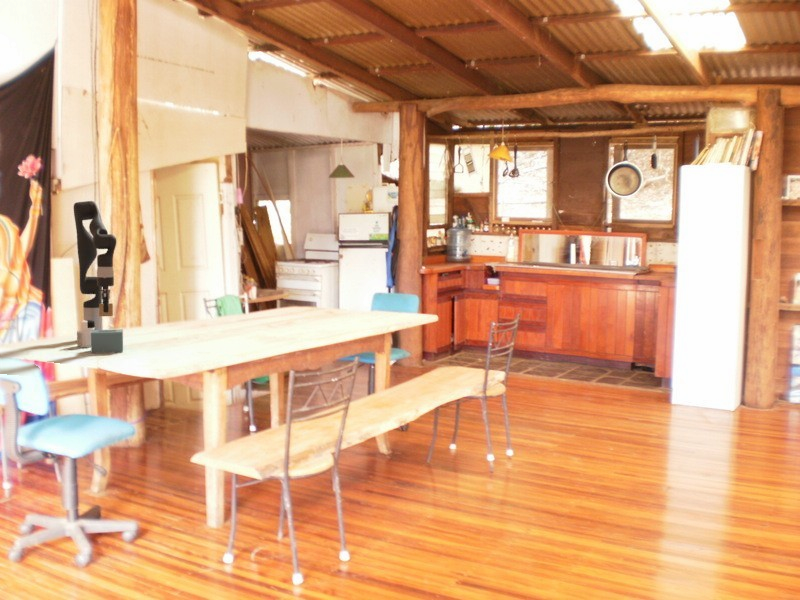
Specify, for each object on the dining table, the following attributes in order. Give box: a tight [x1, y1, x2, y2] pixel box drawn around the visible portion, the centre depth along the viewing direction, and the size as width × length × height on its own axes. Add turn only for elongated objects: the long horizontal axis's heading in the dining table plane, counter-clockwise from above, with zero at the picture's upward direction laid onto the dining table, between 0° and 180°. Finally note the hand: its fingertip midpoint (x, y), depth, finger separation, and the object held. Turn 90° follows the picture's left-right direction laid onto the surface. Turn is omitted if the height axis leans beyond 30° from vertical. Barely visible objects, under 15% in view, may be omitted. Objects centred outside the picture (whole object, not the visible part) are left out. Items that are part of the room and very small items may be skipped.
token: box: [99, 302, 114, 317], centre depth 394 cm, size 2×6×6 cm, turn 106°
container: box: [76, 319, 95, 348], centre depth 411 cm, size 8×8×13 cm
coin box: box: [90, 329, 124, 354], centre depth 396 cm, size 10×14×10 cm
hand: (106, 312), depth 394 cm, fingers closed on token, 1 cm apart
